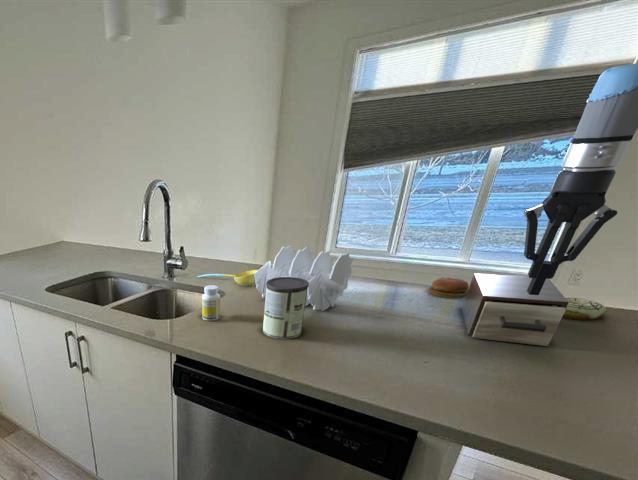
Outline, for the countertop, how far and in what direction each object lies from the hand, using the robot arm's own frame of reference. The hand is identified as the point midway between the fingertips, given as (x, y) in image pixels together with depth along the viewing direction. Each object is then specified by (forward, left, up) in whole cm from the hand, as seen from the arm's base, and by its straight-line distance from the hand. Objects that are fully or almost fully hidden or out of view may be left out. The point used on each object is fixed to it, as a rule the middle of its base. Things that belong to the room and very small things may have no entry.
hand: (532, 292), depth 86 cm
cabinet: (0, -14, -13) cm, 19 cm away
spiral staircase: (+49, -16, -14) cm, 53 cm away
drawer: (0, -9, -12) cm, 15 cm away
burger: (+10, -38, -14) cm, 42 cm away
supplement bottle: (+71, +4, -14) cm, 72 cm away
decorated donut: (-16, -28, -14) cm, 35 cm away
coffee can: (+49, +8, -14) cm, 51 cm away
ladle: (+79, -33, -14) cm, 87 cm away
